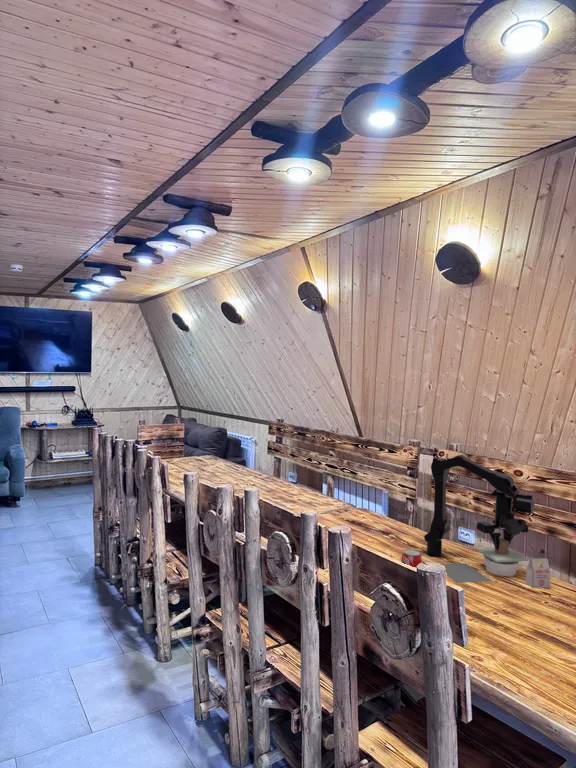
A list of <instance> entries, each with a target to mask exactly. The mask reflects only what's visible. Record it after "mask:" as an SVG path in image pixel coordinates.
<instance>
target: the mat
mask: <svg viewBox="0 0 576 768" xmlns="http://www.w3.org/2000/svg"><path fill="white" fill-rule="evenodd" d="M441 565H444V566H445V568H446V573H447V575H446V577H448V578H449V579H451V580H453V582H455V583H456V584H461V583H464V584H465V583H479V582H480V583H481V582H492V580H491V579H490V578H489V577H487V576H485V575H484V574H482V573H481V572H479V571H477V570H476V569H475V568H474V567H473V566H470V565H468V563H466V562H465V563H448V564H447V563H445V564H441Z"/></svg>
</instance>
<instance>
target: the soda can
mask: <svg viewBox="0 0 576 768" xmlns="http://www.w3.org/2000/svg"><path fill="white" fill-rule="evenodd" d="M421 554H422V553H421V551H420V550H417V549H413V548H412V549H411V548H410V549H409V548H407V549H404V550H403V553H402V555H401V561H400V562H402V563H404V564H407V565H410V566H412V567H416V566H417V565H418V564H419V563H422V564H423V557H422V555H421Z"/></svg>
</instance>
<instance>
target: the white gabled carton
mask: <svg viewBox="0 0 576 768" xmlns="http://www.w3.org/2000/svg"><path fill="white" fill-rule="evenodd" d="M525 570H526V571H525V584H526V585H528V586H529V587H530V588H534V589H536V588H542V589H544V590H545V589H546V590H547V589H550V586H551V585H550V583H551V582H550V581H551V569H550V565H549V559H548V558H530V559H529V561H528V564H527V565H526V569H525Z"/></svg>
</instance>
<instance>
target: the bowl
mask: <svg viewBox="0 0 576 768" xmlns="http://www.w3.org/2000/svg"><path fill="white" fill-rule="evenodd" d="M519 562H520V561H515V562H495V561H493V560H492V559H490V558H488V557H487V556H485V555H483V564H484V566H485V570H486V571H487V572H488V573H490V574H493V575H496V576H501V577H502V576H503V577H513V576H515V575H517V571H518V570H519V566H520V563H519Z"/></svg>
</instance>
